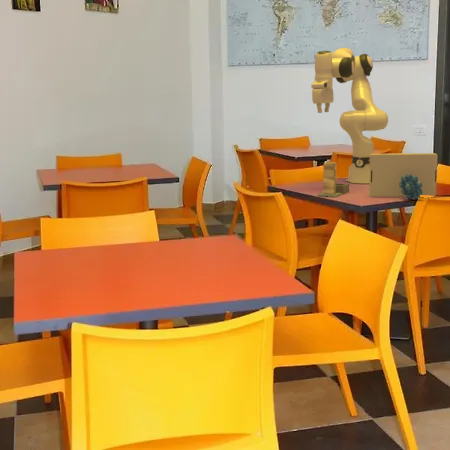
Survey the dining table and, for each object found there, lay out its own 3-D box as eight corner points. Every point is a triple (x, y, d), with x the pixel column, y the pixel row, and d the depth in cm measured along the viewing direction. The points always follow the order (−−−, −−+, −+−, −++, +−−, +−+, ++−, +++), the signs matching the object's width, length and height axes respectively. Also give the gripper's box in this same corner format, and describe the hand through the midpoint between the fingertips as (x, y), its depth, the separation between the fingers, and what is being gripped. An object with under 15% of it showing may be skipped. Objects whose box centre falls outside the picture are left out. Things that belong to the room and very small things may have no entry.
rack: (330, 190, 341) (331, 182, 340) (349, 191, 336) (349, 183, 336) (325, 193, 334) (325, 185, 333) (343, 194, 329) (343, 186, 328)
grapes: (394, 199, 311) (395, 173, 308) (401, 197, 316) (402, 172, 313) (417, 201, 303) (418, 175, 301) (424, 200, 308) (425, 173, 305)
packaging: (433, 194, 322) (435, 153, 318) (435, 196, 316) (437, 154, 312) (368, 195, 325) (369, 153, 321) (370, 197, 319) (371, 154, 315)
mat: (324, 193, 332) (324, 192, 332) (341, 194, 328) (341, 193, 328) (317, 196, 324) (317, 194, 324) (335, 197, 320) (335, 195, 320)
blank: (326, 192, 329) (326, 162, 326) (335, 193, 326) (336, 162, 324) (323, 194, 325) (323, 163, 323) (333, 194, 323) (333, 163, 320)
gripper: (324, 84, 345) (324, 111, 348) (309, 84, 328) (309, 113, 330) (336, 84, 342) (336, 111, 345) (322, 84, 325) (321, 113, 327)
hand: (323, 112), depth 337 cm, fingers open, 8 cm apart
